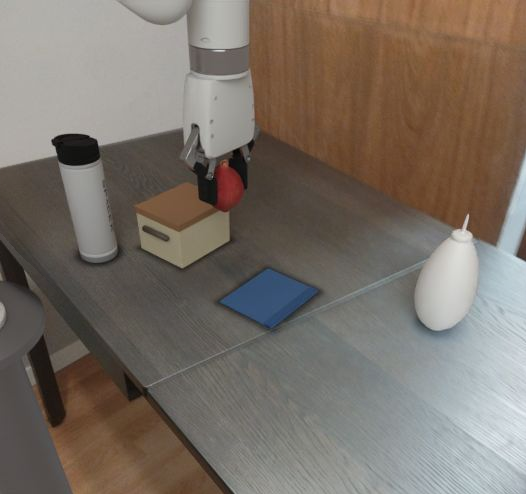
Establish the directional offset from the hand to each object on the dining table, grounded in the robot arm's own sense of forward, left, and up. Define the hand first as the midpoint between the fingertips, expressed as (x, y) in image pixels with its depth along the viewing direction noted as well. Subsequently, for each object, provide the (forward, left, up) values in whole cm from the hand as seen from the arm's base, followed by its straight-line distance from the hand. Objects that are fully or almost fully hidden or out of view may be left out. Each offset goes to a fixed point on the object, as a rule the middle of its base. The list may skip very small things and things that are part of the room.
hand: (223, 193), depth 79 cm
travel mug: (-10, +20, -14) cm, 26 cm away
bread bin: (+2, +11, -14) cm, 18 cm away
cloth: (-1, -10, -14) cm, 17 cm away
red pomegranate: (0, 0, -3) cm, 3 cm away
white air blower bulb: (+9, -33, -14) cm, 37 cm away
